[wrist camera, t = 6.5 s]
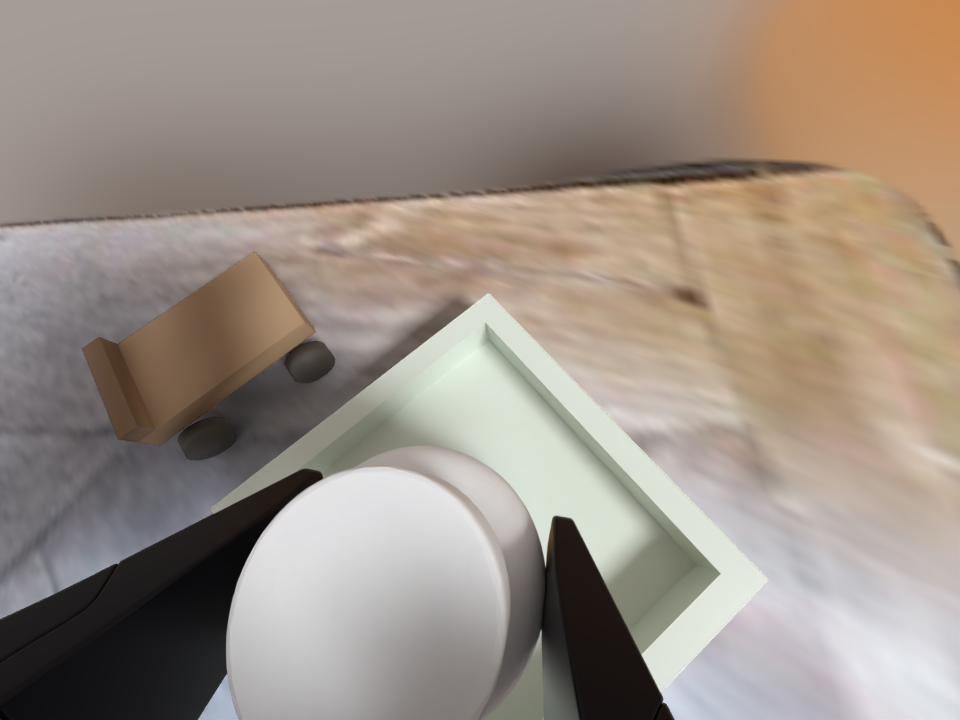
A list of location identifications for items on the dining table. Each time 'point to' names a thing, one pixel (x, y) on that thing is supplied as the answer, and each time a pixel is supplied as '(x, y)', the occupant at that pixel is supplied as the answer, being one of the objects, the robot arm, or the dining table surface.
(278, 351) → the cart
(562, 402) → the tray
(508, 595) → the supplement bottle
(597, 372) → the dining table surface
